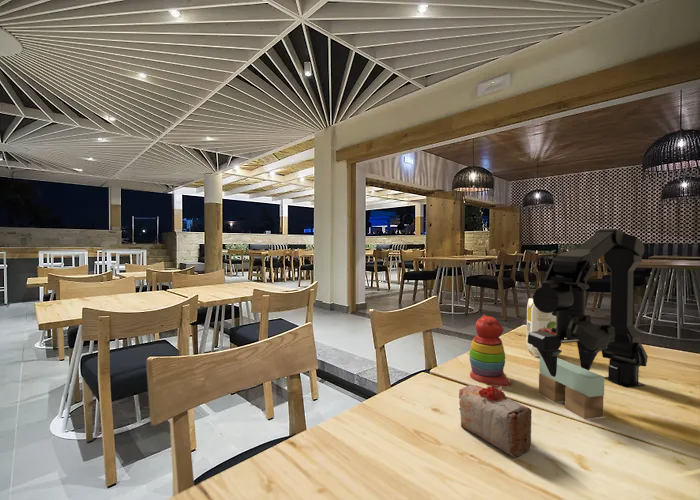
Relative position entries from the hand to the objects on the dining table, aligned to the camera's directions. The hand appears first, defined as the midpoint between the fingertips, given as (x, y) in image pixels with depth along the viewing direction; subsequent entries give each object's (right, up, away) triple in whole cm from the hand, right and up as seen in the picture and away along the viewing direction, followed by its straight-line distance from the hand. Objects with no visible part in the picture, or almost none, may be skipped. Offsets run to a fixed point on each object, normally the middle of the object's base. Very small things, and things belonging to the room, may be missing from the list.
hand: (569, 374), depth 81 cm
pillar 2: (+1, -7, -4) cm, 8 cm away
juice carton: (+14, -7, +37) cm, 40 cm away
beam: (0, -2, 0) cm, 2 cm away
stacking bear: (-13, -7, +16) cm, 22 cm away
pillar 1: (-1, -7, +4) cm, 8 cm away
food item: (-23, -8, -12) cm, 28 cm away
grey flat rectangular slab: (+4, -8, +1) cm, 8 cm away
